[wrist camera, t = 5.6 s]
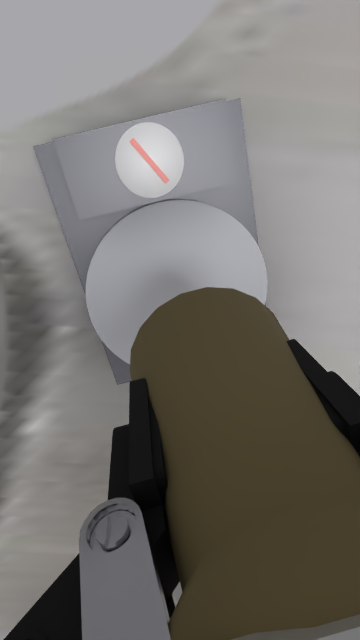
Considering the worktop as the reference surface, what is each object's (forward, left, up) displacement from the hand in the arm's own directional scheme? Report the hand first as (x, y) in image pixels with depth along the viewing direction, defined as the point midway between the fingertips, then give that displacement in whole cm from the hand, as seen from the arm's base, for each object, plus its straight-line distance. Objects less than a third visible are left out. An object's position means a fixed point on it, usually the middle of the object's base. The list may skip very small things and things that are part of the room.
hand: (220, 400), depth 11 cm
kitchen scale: (+2, 0, -14) cm, 14 cm away
